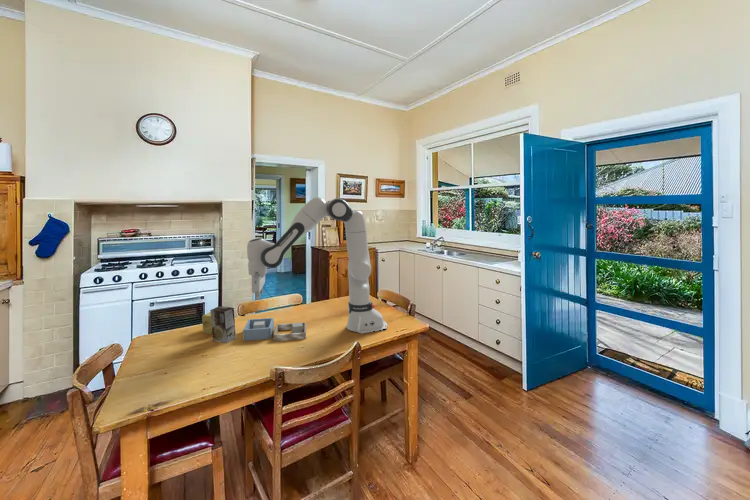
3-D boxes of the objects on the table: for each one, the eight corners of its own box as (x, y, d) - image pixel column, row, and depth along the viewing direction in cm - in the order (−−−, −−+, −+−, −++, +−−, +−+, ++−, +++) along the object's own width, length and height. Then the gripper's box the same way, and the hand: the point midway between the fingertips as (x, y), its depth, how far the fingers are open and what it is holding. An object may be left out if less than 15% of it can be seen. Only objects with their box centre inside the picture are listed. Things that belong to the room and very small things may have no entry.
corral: (306, 327, 176) (306, 322, 175) (306, 338, 161) (305, 333, 161) (276, 329, 173) (276, 324, 172) (273, 341, 158) (273, 335, 158)
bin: (274, 327, 176) (273, 317, 175) (270, 338, 161) (270, 328, 160) (249, 329, 173) (248, 319, 172) (243, 340, 159) (242, 330, 158)
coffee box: (236, 338, 162) (234, 307, 159) (226, 343, 156) (224, 311, 153) (222, 335, 165) (220, 305, 162) (212, 340, 159) (209, 309, 156)
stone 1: (265, 330, 170) (264, 321, 169) (263, 333, 165) (263, 324, 164) (255, 330, 169) (254, 321, 168) (253, 334, 164) (253, 325, 163)
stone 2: (302, 331, 171) (301, 322, 170) (303, 334, 166) (302, 325, 165) (292, 332, 169) (292, 323, 168) (293, 336, 165) (292, 327, 164)
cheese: (220, 335, 165) (218, 317, 164) (201, 333, 167) (200, 315, 166) (232, 327, 175) (231, 310, 174) (215, 326, 177) (214, 308, 176)
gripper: (261, 274, 153) (263, 302, 155) (266, 266, 173) (268, 290, 175) (247, 275, 152) (249, 303, 154) (254, 266, 172) (256, 291, 174)
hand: (259, 296), depth 165 cm, fingers open, 8 cm apart
